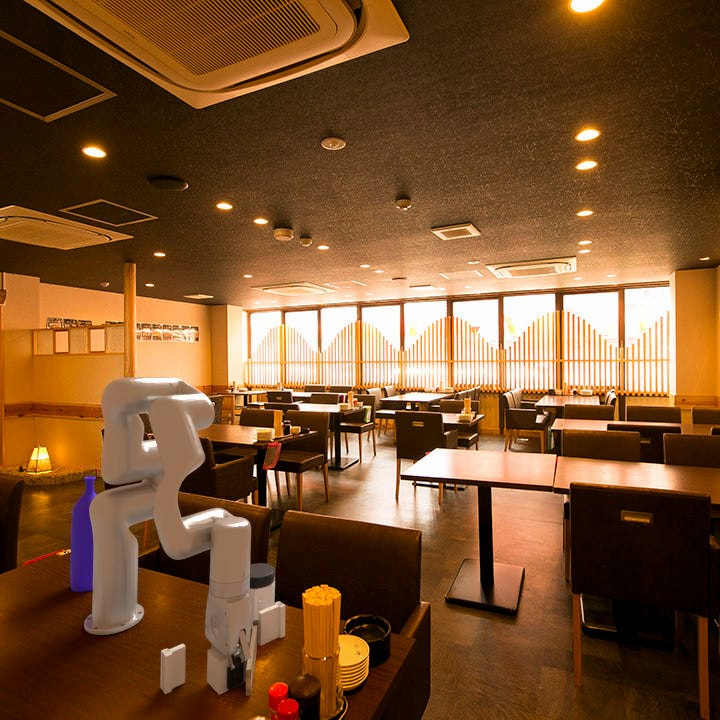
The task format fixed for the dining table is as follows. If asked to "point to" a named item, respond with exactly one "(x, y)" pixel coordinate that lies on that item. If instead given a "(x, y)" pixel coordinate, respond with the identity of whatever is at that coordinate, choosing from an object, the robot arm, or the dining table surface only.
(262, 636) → the white flat upright blocks
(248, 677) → the gate
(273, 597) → the jar
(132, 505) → the robot arm
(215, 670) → the block
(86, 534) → the bottle
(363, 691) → the dining table surface
